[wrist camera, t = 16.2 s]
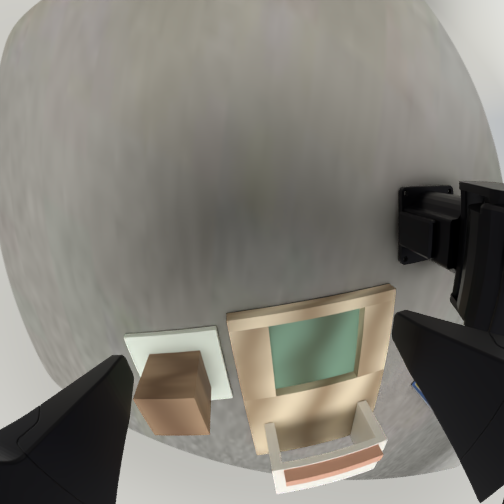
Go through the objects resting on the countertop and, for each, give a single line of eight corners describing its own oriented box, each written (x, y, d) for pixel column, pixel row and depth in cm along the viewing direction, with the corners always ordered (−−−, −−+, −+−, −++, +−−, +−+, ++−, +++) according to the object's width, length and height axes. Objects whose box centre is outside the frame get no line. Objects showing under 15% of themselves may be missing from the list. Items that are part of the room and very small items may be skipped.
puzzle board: (388, 283, 21) (395, 289, 20) (364, 422, 27) (367, 429, 26) (226, 313, 21) (226, 321, 19) (256, 447, 26) (257, 455, 25)
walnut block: (200, 350, 21) (194, 398, 15) (211, 387, 22) (209, 434, 17) (149, 353, 21) (133, 399, 15) (164, 390, 22) (155, 435, 17)
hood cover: (365, 399, 24) (393, 449, 17) (357, 433, 26) (377, 477, 19) (264, 423, 23) (274, 483, 16) (269, 454, 25) (278, 504, 18)
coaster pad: (216, 325, 21) (215, 329, 20) (232, 393, 23) (232, 398, 23) (125, 333, 21) (123, 337, 20) (154, 398, 23) (153, 402, 22)
